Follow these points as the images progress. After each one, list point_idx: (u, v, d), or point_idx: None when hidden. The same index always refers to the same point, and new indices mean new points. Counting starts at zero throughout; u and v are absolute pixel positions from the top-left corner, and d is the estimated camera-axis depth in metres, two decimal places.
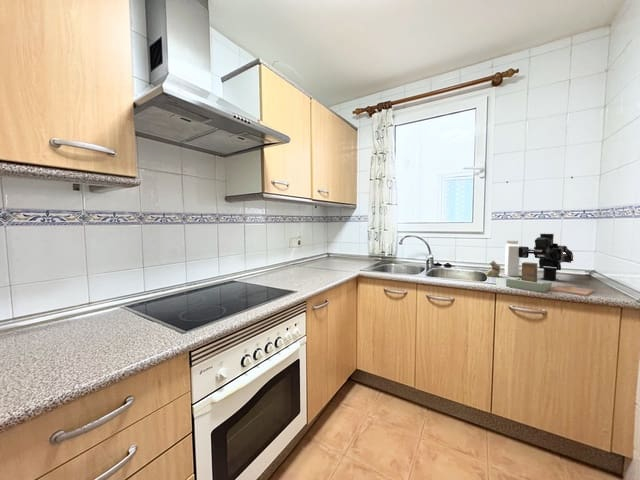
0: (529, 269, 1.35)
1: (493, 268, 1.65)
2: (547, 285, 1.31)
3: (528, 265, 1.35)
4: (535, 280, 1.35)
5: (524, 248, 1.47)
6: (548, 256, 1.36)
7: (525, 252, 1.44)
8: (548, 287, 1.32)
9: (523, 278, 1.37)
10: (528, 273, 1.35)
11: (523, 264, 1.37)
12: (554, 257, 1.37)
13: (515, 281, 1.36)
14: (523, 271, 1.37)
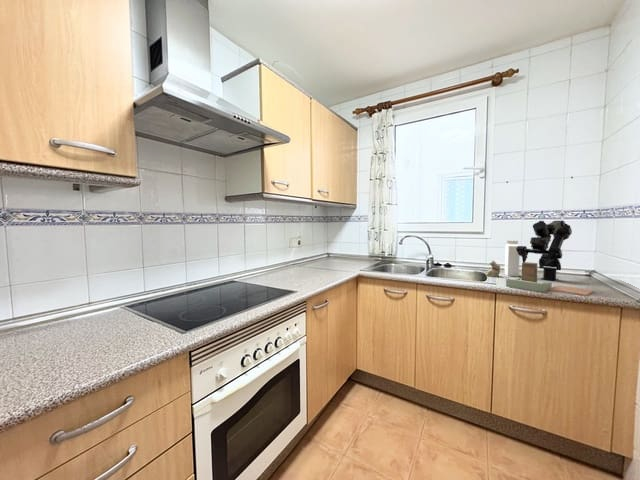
0: (529, 269, 1.35)
1: (493, 268, 1.65)
2: (547, 285, 1.31)
3: (528, 265, 1.35)
4: (535, 280, 1.35)
5: (522, 251, 1.46)
6: (548, 262, 1.36)
7: (524, 257, 1.44)
8: (548, 287, 1.32)
9: (523, 278, 1.37)
10: (528, 273, 1.35)
11: (523, 264, 1.37)
12: (554, 257, 1.36)
13: (515, 281, 1.36)
14: (523, 271, 1.37)
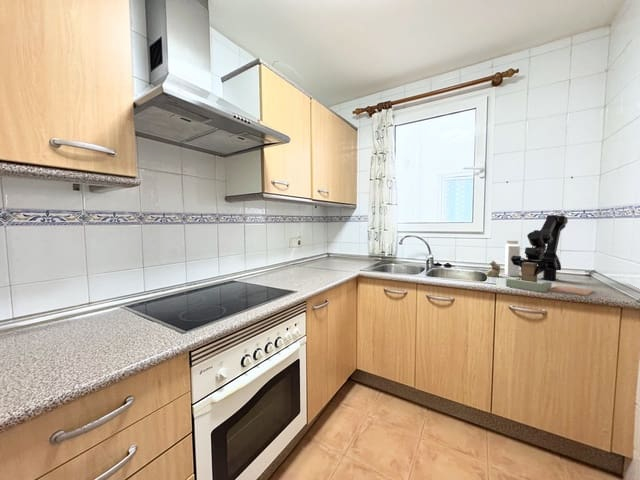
0: (529, 269, 1.35)
1: (493, 268, 1.65)
2: (547, 285, 1.31)
3: (528, 265, 1.35)
4: (535, 280, 1.35)
5: (521, 261, 1.41)
6: (538, 272, 1.34)
7: None
8: (548, 287, 1.32)
9: (523, 278, 1.37)
10: (528, 273, 1.35)
11: (523, 264, 1.37)
12: (544, 268, 1.35)
13: (515, 281, 1.36)
14: (523, 271, 1.37)
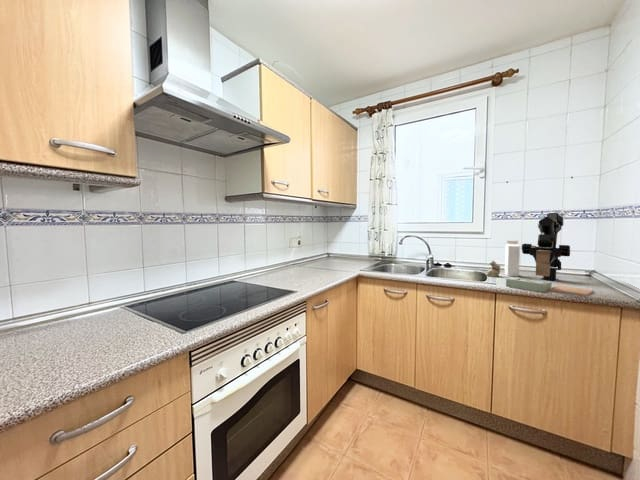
0: (544, 257, 1.30)
1: (493, 268, 1.65)
2: (547, 285, 1.31)
3: (543, 252, 1.30)
4: (549, 268, 1.31)
5: (533, 249, 1.36)
6: (553, 260, 1.30)
7: None
8: (548, 287, 1.32)
9: (538, 266, 1.32)
10: (543, 261, 1.30)
11: (538, 252, 1.32)
12: (557, 255, 1.32)
13: (515, 281, 1.36)
14: (538, 259, 1.32)
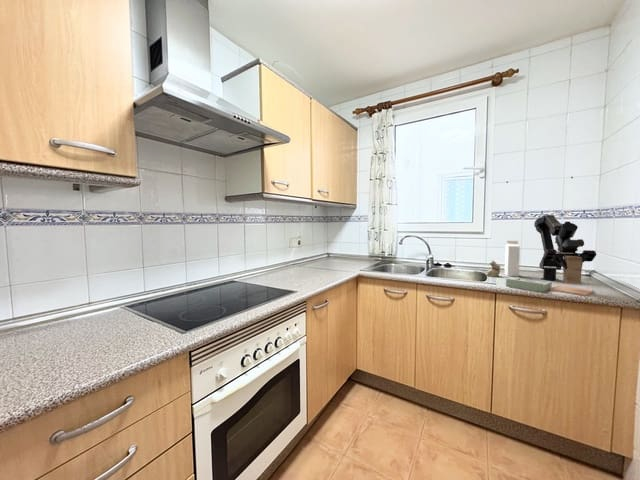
0: (577, 263, 1.25)
1: (493, 268, 1.65)
2: (547, 285, 1.31)
3: (575, 259, 1.25)
4: None
5: (560, 255, 1.30)
6: None
7: (564, 262, 1.29)
8: (548, 287, 1.32)
9: (569, 273, 1.26)
10: (575, 267, 1.25)
11: (570, 258, 1.25)
12: None
13: (515, 281, 1.36)
14: (569, 266, 1.26)
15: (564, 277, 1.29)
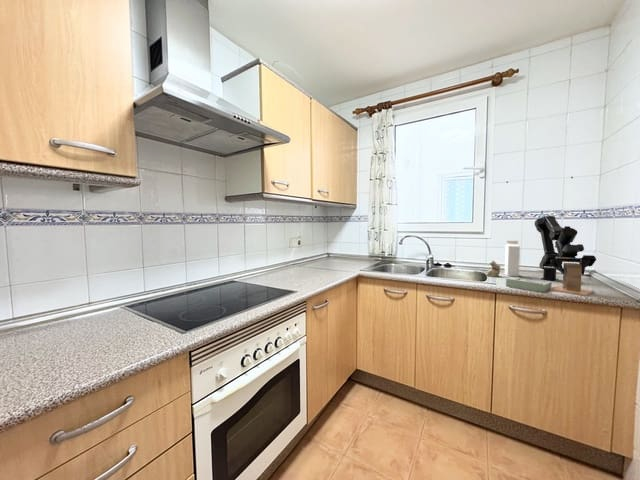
0: (576, 270, 1.25)
1: (493, 268, 1.65)
2: (547, 285, 1.31)
3: (575, 266, 1.25)
4: None
5: (557, 260, 1.30)
6: None
7: (561, 267, 1.29)
8: (548, 287, 1.32)
9: (569, 281, 1.26)
10: (575, 275, 1.25)
11: (569, 265, 1.26)
12: None
13: (515, 281, 1.36)
14: (569, 273, 1.26)
15: (564, 284, 1.29)
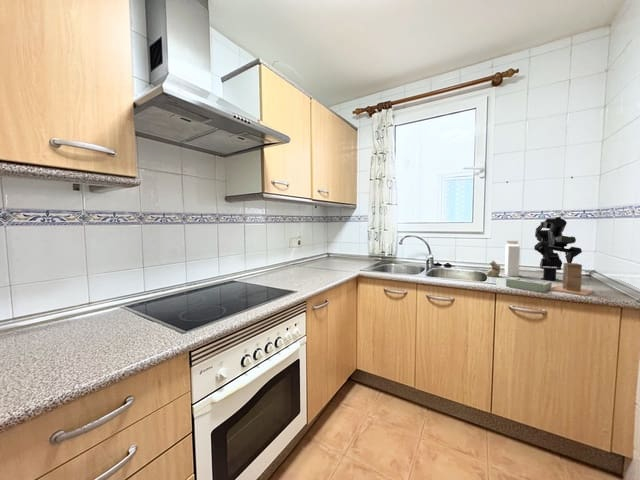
0: (576, 270, 1.25)
1: (493, 268, 1.65)
2: (547, 285, 1.31)
3: (575, 266, 1.25)
4: None
5: (547, 248, 1.39)
6: None
7: (548, 255, 1.39)
8: (548, 287, 1.32)
9: (569, 281, 1.26)
10: (575, 275, 1.25)
11: (569, 265, 1.26)
12: None
13: (515, 281, 1.36)
14: (569, 273, 1.26)
15: (564, 284, 1.29)
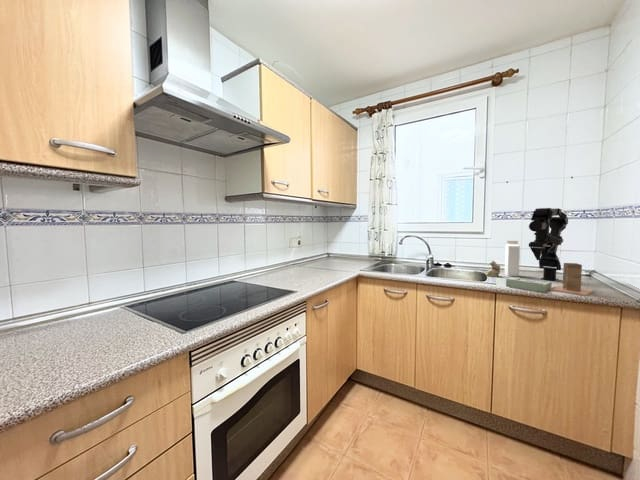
0: (576, 270, 1.25)
1: (493, 268, 1.65)
2: (547, 285, 1.31)
3: (575, 266, 1.25)
4: None
5: (542, 249, 1.39)
6: None
7: None
8: (548, 287, 1.32)
9: (569, 281, 1.26)
10: (575, 275, 1.25)
11: (569, 265, 1.26)
12: None
13: (515, 281, 1.36)
14: (569, 273, 1.26)
15: (564, 284, 1.29)
